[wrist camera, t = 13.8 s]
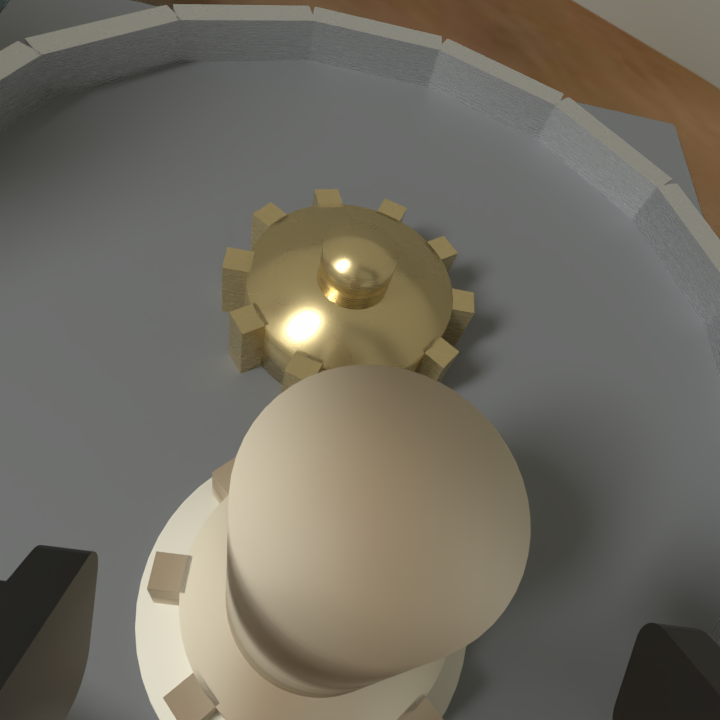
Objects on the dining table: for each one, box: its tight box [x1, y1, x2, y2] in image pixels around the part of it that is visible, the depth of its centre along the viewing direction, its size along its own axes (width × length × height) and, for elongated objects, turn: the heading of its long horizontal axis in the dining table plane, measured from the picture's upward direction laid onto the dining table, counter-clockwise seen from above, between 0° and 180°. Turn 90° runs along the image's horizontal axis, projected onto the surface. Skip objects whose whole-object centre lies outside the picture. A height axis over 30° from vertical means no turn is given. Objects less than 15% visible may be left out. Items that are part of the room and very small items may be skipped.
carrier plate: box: [0, 0, 720, 720], centre depth 23 cm, size 34×34×1 cm
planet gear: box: [147, 365, 531, 720], centre depth 13 cm, size 8×8×9 cm
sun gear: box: [222, 189, 474, 393], centre depth 21 cm, size 8×8×4 cm
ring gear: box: [0, 4, 720, 647], centre depth 22 cm, size 33×33×2 cm
